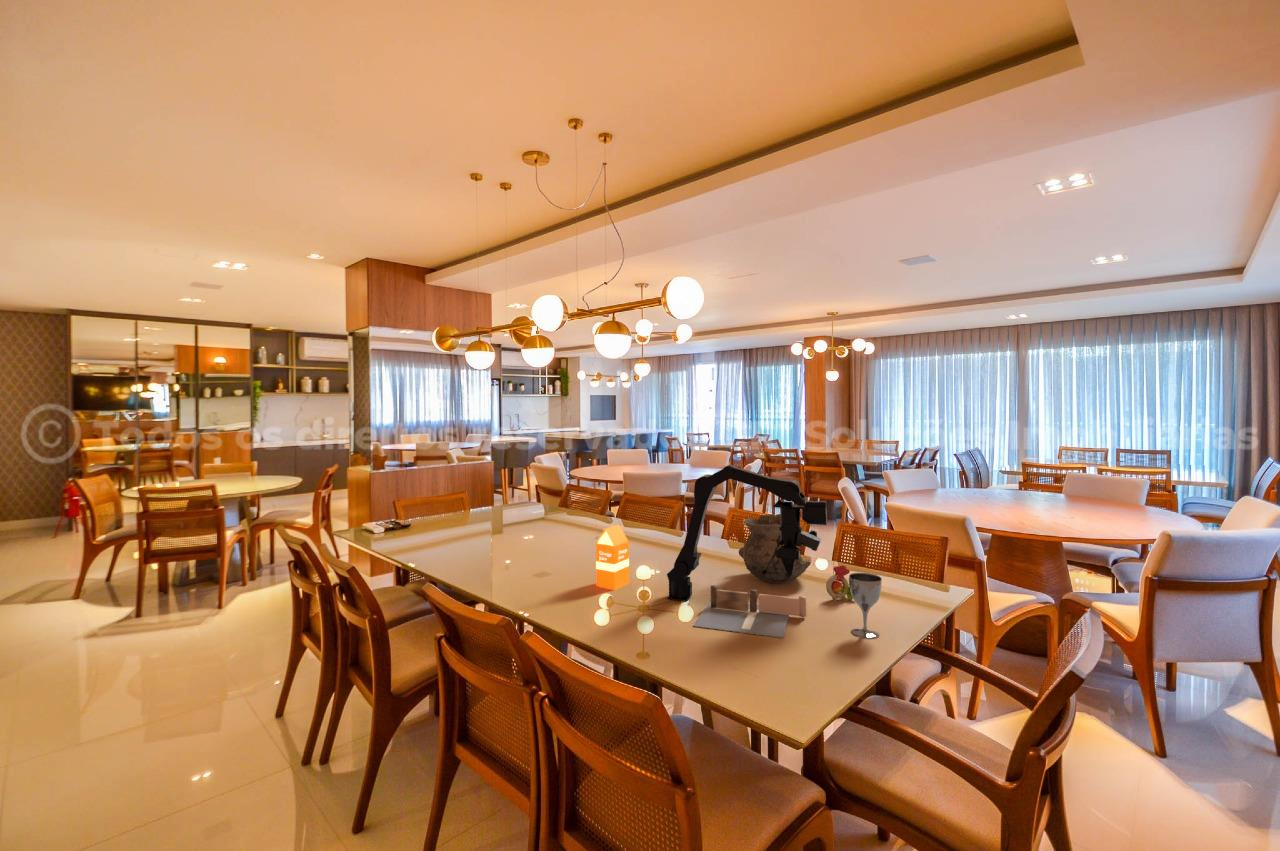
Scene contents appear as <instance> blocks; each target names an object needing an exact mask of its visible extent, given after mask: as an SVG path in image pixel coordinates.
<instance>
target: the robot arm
mask: <svg viewBox="0 0 1280 851" xmlns="http://www.w3.org/2000/svg"><path fill="white" fill-rule="evenodd" d="M728 480H732V481H736V482H739V483H742V484H746V485H750V486H753V487H755V488H759V489H762V490H766V491H768V492H770V493H771V494H773V495H774V496H776V497H778V500H777V501H776V502H774V504H773V508H778V509H779V508H780V510H779V511H780V512H779V514H780V527H779V531H780V541H779V545H780V546H779V547H778V548H777V550H776V558H781V560H782V562H783V565H784V567H785V569H786V572H787V574H788V576H792V573H793V568H794V563H795V560H797V559H799V557H800V554H801V553H802V549H799V547H803V546H804V547H807V548H808V549H811V550H812V551H814V552H817V551H818V549H819V546H820V544H821V540H822V538H820V536H818V531H816V530H813V529H811V530H810V531H809V532H808V531H803V526H802V525H801V518H802V521H803V522H804V523H806V525H816V526H819V525H820V526H827V525H828V524H827V523H828V510H827V501H826V500H819V501H817V500H816V501H813V500H812V501H811V500H808V499H807V496H805V495H804V493H803V492H802V487H801V484H800V483H799V481H797V480H795V479H794V478H793V479H791V478H785V477H772V476H769V475H765V474H762V473H759V472H754V471H752V470H748V469H745V468H743V467H738V466H735V465H734V464H729V465H728V464H727V465H726V466H724V467H723V468H722V469H720V470H718V471H716V472H715V473H713V474H704V475H701V476H699V477H698V478H697V479H696V480H695V482H694V486H693V487H694V489H693V500H694V504H693V507H692V511H691V515H690V519H689V523H688V526H687V531H686V536H685V539H684V542H683V546H682V547H681V550H680V552H679V553H678V554H677V557H676V559H675V562H674V564H673V568H672V569H671V570H670V571H669V572H668V573H666V576H667V579H668V580H667V581H668V596H667V598H666V599H667V600H676V601H685V602H688V600H690V599H691V597H692V596H693V582H692V581H691V576H690V575H691V573H692V572H693V571H695V570H696V569H697V567H698V566H699V565H700V558H701V556H702V553H701V552H698V544H699V540H700V537H701V533H702V529H703V526H704V522H705V518H706V514H707V509H708V505H709V504H710V502H711V501H712V498H713V497H714V495H715V493H716V490H717V488H718V486H719V485H721V484H722V483H724V482H726V481H728ZM801 510H802V513H801ZM801 514H802V515H801Z"/></svg>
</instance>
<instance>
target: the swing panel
mask: <svg viewBox="0 0 1280 851" xmlns="http://www.w3.org/2000/svg"><path fill="white" fill-rule="evenodd" d="M758 605H759V611H760V612H768V613H777V614H786V615H789V616H795V617H796V616H797V617H801V618H805V617H807V596H804V595H799V596H798V597H796V596H795V597H794V596H788V595H786V596H785V595H776V594H766V593H758Z"/></svg>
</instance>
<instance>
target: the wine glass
mask: <svg viewBox="0 0 1280 851" xmlns="http://www.w3.org/2000/svg"><path fill="white" fill-rule="evenodd" d="M848 577H849V578H848V584H849V587H850V592H851V596H852V598H853V599H852V600H853V601H854V602H855V603H856V605H858V607H859V608H860V609H861V613H862V620H863V627H856V628H853V629H851V630H850V634H851V635H853V636H855V637H856V638H860V639H865V640H875V639H878V638H880V633H879V632H877V631H876V630H874V629H870V628H867V627H868V626H867V624H868V623H867V621H868V615H869V612H870V610H871V609H872V607H873V606H874V605H875V604H877V602H878V601H879V600H880V598H881V593H882V587H883V586H882V584H883V582H882V580H883V579H882V577H881V576H880V575H878V574H873V573H870V572H869V573H868V572H852V573H849V575H848Z"/></svg>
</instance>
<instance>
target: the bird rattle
mask: <svg viewBox="0 0 1280 851" xmlns="http://www.w3.org/2000/svg"><path fill="white" fill-rule="evenodd" d="M833 571H834V574H832V575H831V576H830V577H829V578H828V579H827V581H826V584H825V588H826V591H827V594H829V596H830V597H831V599H832V600H833V601H836V600H838V599H842V598H844V597H845V596H846V597H847V599H848V601H852V600H854V599H853V598H852V596H851V592H850V587H849V580H848V579H847V578H846V577H845V576H847V575H848V574H849V575H850V574H851V573H850V572H851V570H850V569H847V566H846V565H840V566H839V565H835V566H834V567H833Z"/></svg>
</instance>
